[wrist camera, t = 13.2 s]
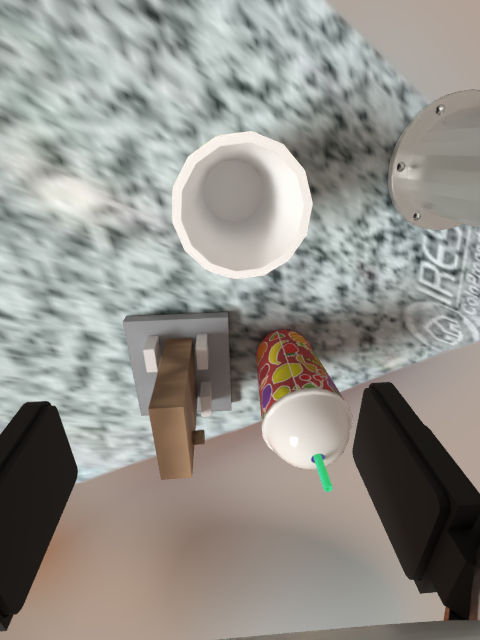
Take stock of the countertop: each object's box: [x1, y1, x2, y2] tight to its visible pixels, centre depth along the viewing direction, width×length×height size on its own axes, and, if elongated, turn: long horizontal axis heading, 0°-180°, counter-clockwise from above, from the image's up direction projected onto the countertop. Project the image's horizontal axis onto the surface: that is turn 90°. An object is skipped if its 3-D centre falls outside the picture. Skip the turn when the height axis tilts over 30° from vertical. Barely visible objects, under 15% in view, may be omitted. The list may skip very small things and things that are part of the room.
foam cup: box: [172, 131, 313, 279], centre depth 28 cm, size 10×9×13 cm
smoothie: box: [256, 329, 353, 492], centre depth 34 cm, size 8×8×20 cm
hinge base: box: [123, 312, 231, 417], centre depth 41 cm, size 12×14×4 cm
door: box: [148, 338, 205, 480], centre depth 36 cm, size 4×9×12 cm, turn 1°
